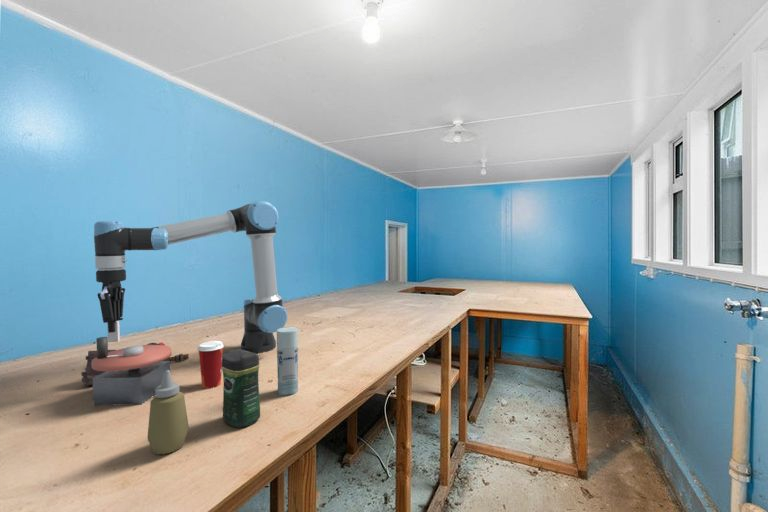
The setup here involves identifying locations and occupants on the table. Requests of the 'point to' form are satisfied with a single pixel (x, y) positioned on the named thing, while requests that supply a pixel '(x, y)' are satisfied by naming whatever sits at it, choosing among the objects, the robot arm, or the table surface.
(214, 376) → the paper cup
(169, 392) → the squeeze bottle
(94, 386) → the grey box
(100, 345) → the handwheel
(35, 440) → the table surface
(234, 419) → the coffee jar
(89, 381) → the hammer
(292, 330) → the spray paint can
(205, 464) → the table surface
